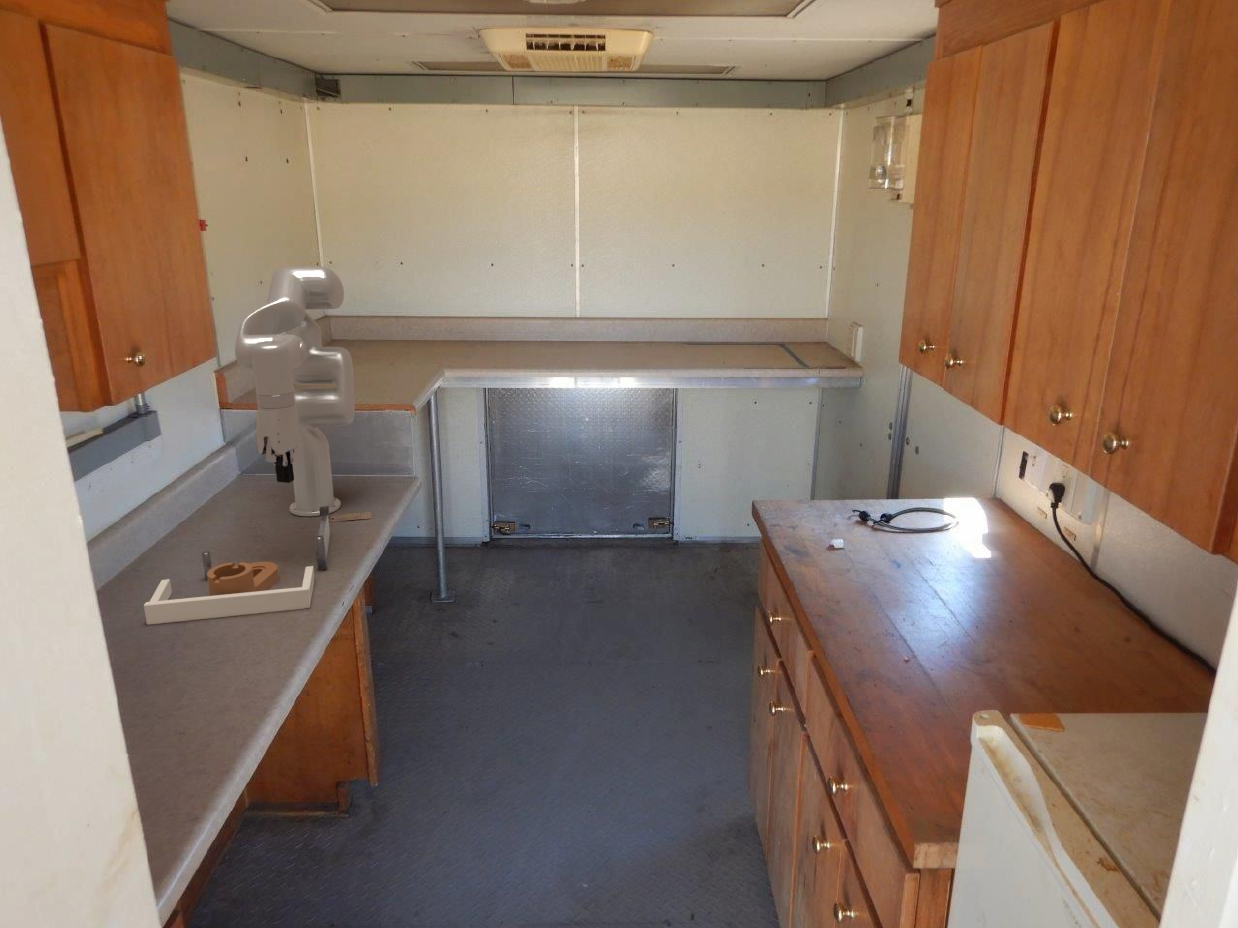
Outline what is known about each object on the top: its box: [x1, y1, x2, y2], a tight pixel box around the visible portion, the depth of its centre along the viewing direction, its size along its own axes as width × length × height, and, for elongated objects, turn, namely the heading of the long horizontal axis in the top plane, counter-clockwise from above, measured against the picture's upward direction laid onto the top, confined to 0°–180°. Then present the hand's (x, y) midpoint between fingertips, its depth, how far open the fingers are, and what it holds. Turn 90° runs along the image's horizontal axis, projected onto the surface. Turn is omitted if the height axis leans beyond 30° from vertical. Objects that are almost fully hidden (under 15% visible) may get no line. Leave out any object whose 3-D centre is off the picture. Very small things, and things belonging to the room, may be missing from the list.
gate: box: [317, 506, 331, 561], centre depth 201 cm, size 18×2×8 cm, turn 15°
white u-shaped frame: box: [143, 565, 316, 625], centre depth 176 cm, size 14×30×4 cm, turn 105°
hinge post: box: [313, 535, 328, 572], centre depth 190 cm, size 2×2×8 cm
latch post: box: [201, 550, 213, 581], centre depth 186 cm, size 2×2×6 cm
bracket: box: [207, 561, 280, 596], centre depth 180 cm, size 18×8×7 cm, turn 174°
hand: (285, 481), depth 191 cm, fingers closed
